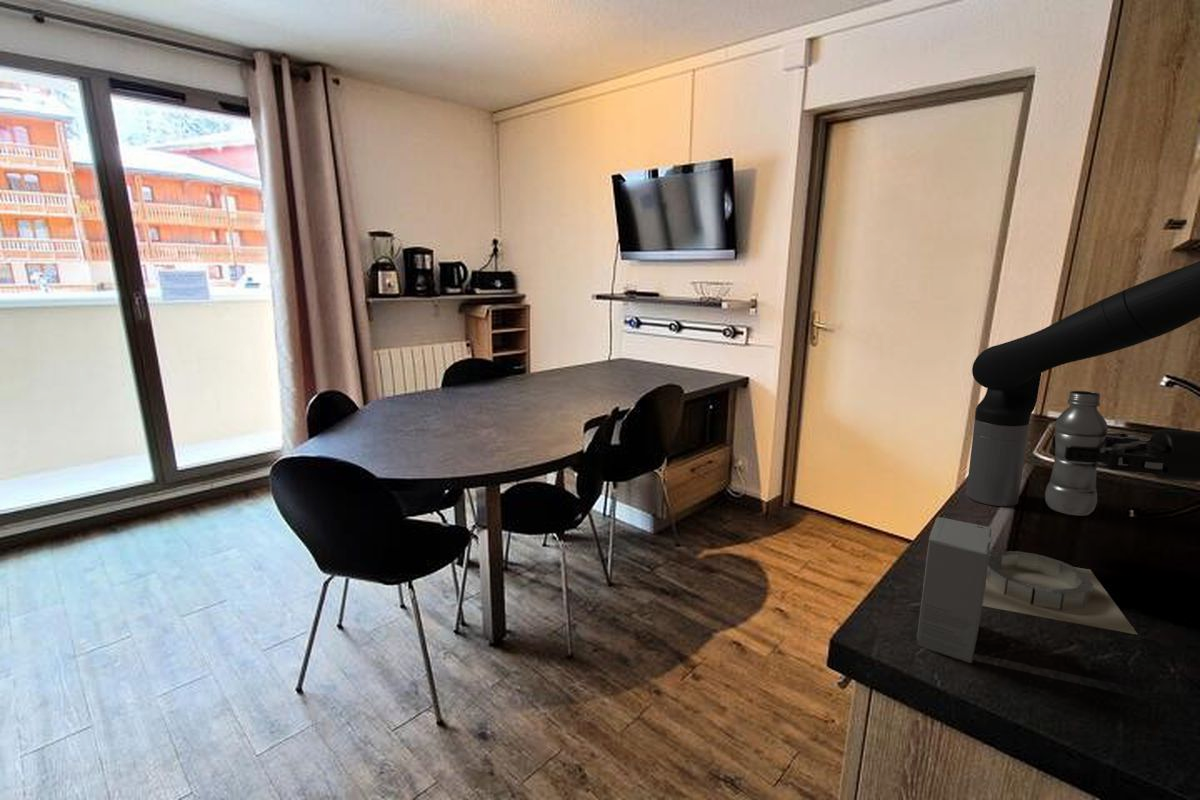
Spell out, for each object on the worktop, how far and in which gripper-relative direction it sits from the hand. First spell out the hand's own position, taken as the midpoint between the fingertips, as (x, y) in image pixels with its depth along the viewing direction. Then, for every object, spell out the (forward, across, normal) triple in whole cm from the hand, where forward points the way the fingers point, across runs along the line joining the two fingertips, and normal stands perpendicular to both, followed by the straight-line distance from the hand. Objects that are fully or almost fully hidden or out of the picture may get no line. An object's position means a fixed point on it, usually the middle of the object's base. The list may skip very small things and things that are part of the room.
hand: (1059, 446), depth 90 cm
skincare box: (+17, +31, +20) cm, 40 cm away
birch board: (+4, +13, +20) cm, 24 cm away
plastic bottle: (-2, 0, +11) cm, 11 cm away
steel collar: (+4, +13, +19) cm, 23 cm away
